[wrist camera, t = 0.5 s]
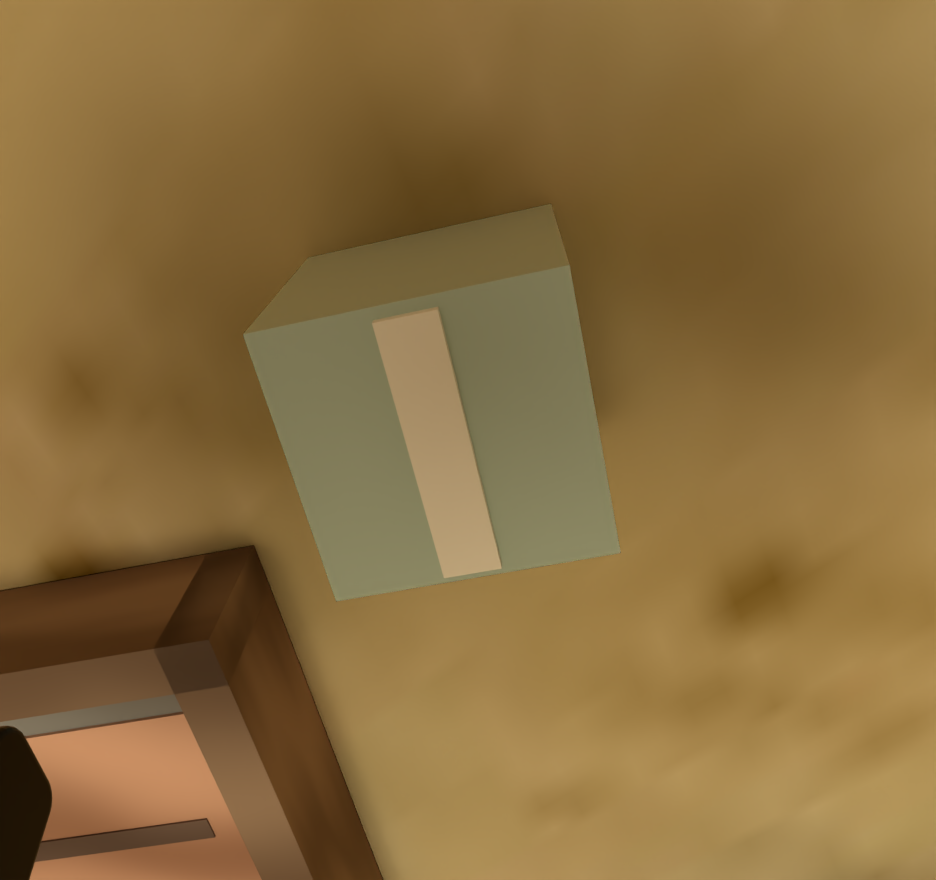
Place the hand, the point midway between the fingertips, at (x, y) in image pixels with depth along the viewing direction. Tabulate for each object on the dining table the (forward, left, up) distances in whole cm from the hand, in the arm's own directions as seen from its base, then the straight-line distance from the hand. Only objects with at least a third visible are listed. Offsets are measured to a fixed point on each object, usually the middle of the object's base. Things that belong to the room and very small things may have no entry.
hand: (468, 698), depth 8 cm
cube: (0, +1, -11) cm, 11 cm away
